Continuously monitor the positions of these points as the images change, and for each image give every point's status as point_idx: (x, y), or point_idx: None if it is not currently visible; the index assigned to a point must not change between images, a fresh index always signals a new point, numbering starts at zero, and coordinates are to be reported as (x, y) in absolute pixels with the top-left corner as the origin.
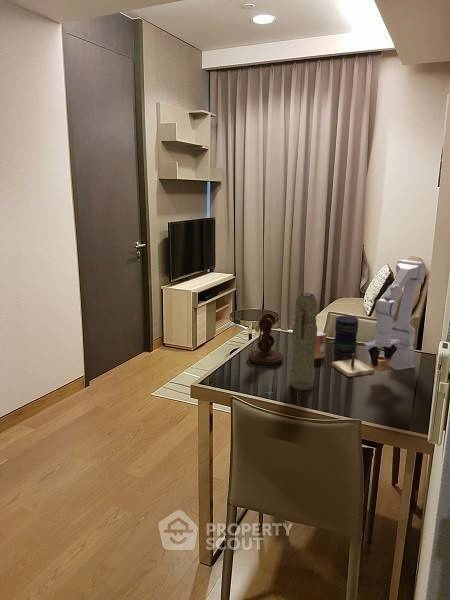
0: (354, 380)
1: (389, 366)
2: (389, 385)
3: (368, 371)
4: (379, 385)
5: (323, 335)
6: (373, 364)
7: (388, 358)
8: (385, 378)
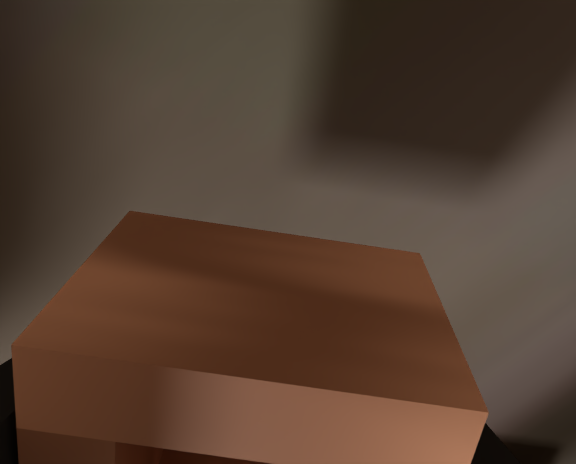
0: (544, 382)
1: (118, 246)
2: (249, 59)
3: None
4: (384, 129)
5: None
6: None
7: (9, 448)
8: None
